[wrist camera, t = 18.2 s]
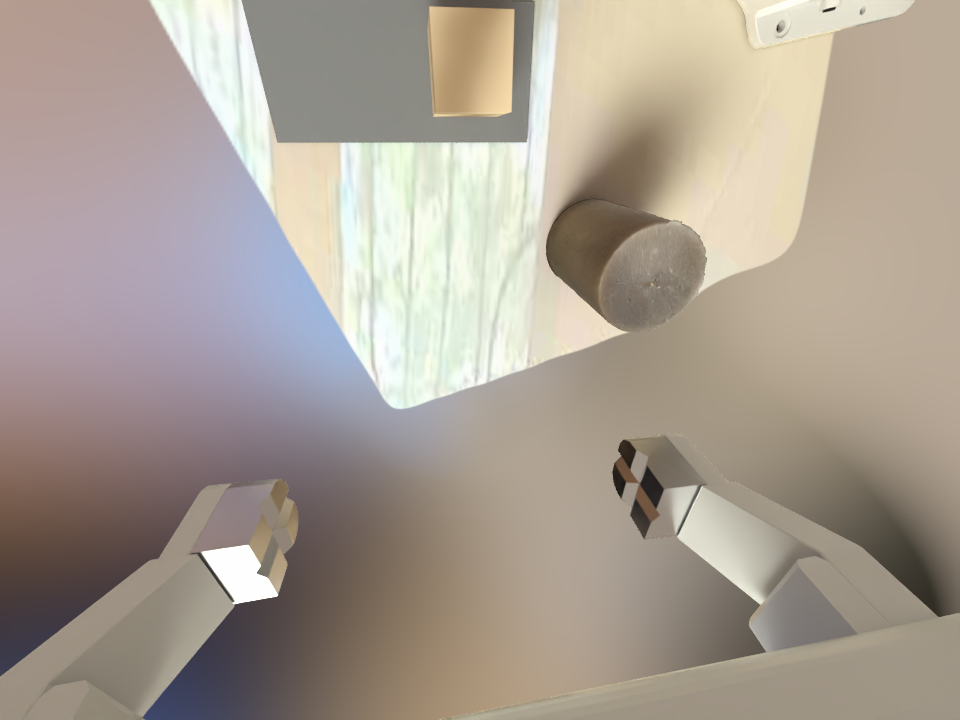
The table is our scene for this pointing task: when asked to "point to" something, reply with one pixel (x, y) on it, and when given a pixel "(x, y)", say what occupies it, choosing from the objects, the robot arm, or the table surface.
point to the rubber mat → (371, 71)
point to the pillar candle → (627, 262)
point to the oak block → (471, 61)
